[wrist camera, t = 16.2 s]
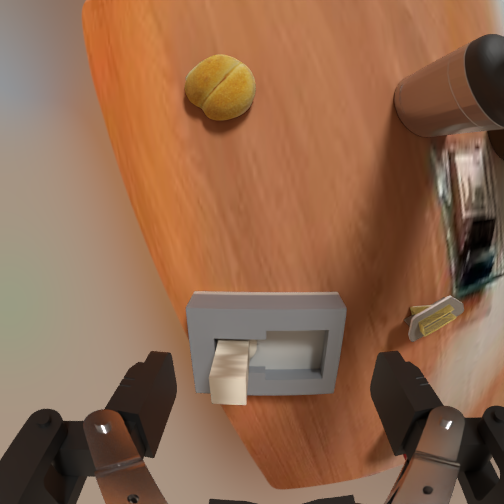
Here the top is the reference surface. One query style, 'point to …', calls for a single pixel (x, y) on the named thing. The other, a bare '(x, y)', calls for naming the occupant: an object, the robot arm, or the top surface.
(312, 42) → the top surface
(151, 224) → the top surface
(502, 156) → the olive oil
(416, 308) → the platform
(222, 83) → the bread roll
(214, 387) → the maple peg
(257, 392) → the keyhole plate
